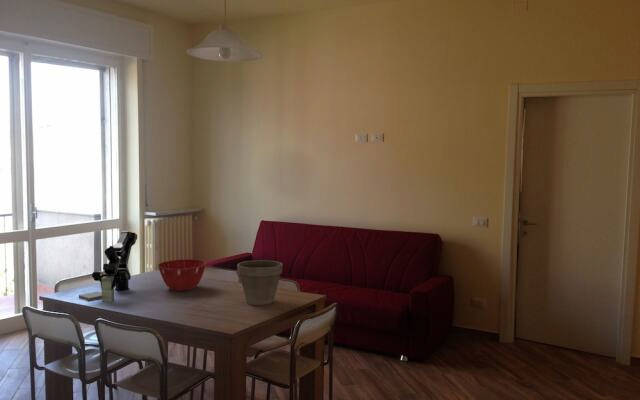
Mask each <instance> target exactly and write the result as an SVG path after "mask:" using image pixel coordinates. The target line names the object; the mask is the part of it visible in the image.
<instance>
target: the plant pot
mask: <svg viewBox="0 0 640 400" xmlns="http://www.w3.org/2000/svg"><path fill="white" fill-rule="evenodd" d="M236 266H237V269H236V270H237V274H238V275H239V278H240V282H241V286H242V289H243V294H244V297H245V302H246V304H248V305H251V306H269V305H271V304H273V303H274V301H275V297H276V293H277V289H278V285H279V282H280V279H281V274H282V273H283V266H284V265H283V262H280V261H276V260H267V259H265V260H261V259H260V260H259V259H258V260H257V259H256V260H246V261H242V262H239V263H237V265H236Z"/></svg>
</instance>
